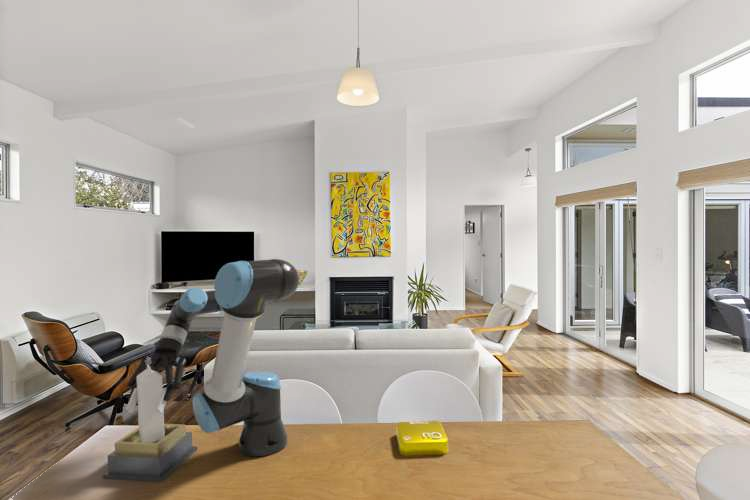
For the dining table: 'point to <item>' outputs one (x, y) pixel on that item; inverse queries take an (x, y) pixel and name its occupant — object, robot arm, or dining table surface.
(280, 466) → the dining table surface
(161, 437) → the milk
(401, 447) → the element tile
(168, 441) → the grey tan square box
